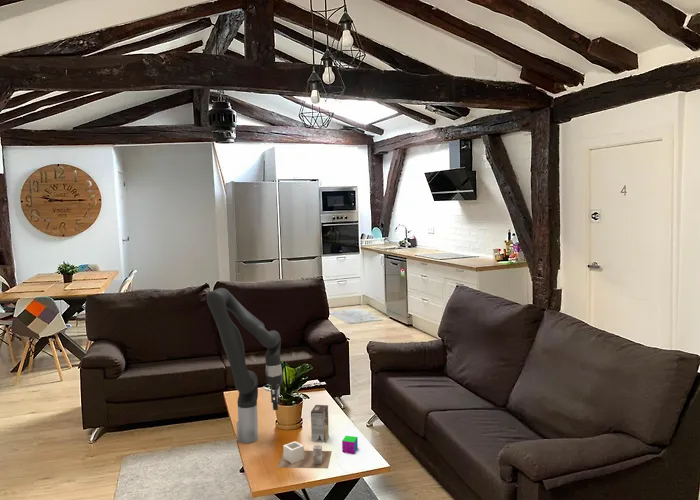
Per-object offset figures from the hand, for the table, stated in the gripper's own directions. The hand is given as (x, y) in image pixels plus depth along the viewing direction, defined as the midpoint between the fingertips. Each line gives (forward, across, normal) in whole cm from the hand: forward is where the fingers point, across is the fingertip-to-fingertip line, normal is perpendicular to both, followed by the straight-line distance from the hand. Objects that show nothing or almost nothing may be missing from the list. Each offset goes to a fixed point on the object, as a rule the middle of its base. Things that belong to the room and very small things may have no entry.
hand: (276, 406), depth 261 cm
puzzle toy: (+19, +11, +34) cm, 40 cm away
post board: (+18, +21, +14) cm, 31 cm away
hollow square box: (+16, +21, +9) cm, 28 cm away
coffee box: (+19, 0, +20) cm, 27 cm away
